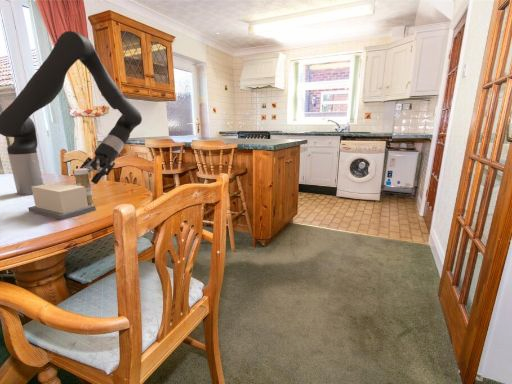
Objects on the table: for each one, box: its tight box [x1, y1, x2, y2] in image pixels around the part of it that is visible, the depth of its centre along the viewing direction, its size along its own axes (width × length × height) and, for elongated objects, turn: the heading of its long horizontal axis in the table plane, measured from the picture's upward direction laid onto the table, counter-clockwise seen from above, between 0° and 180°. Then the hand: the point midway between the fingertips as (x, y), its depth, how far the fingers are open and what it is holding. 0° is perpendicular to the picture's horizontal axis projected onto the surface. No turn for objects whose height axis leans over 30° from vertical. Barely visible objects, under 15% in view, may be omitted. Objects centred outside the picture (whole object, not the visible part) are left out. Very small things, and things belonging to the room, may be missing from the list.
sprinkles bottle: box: [73, 167, 94, 205], centre depth 97 cm, size 5×5×13 cm
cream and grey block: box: [27, 181, 97, 221], centre depth 89 cm, size 19×11×9 cm, turn 65°
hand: (86, 181), depth 98 cm, fingers open, 8 cm apart
